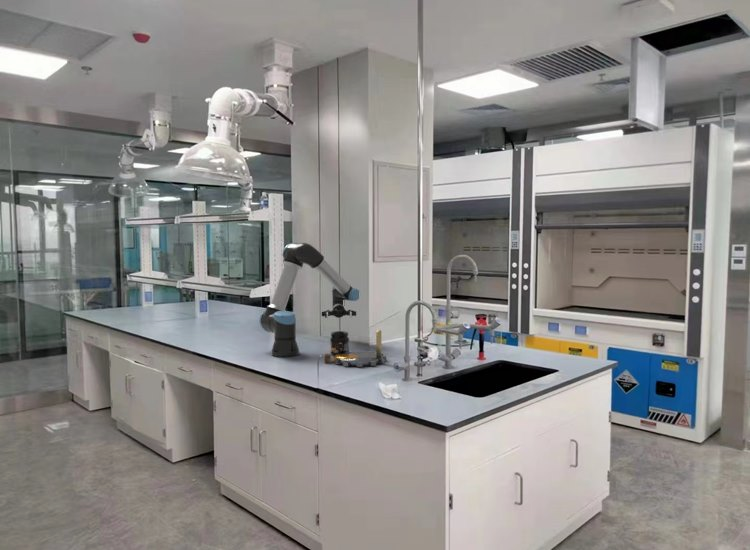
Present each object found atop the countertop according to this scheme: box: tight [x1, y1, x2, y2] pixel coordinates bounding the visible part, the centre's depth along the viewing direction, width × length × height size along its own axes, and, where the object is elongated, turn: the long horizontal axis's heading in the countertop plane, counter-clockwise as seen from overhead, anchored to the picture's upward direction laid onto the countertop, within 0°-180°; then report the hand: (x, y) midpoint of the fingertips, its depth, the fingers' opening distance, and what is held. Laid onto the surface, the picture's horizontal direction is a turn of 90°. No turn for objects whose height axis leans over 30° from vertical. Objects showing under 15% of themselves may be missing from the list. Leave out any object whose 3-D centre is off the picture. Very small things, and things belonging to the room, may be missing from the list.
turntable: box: [332, 329, 387, 368], centre depth 268 cm, size 28×28×16 cm
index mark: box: [324, 353, 332, 364], centre depth 267 cm, size 3×4×4 cm
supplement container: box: [329, 330, 350, 356], centre depth 286 cm, size 10×10×12 cm
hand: (339, 315), depth 295 cm, fingers open, 13 cm apart
